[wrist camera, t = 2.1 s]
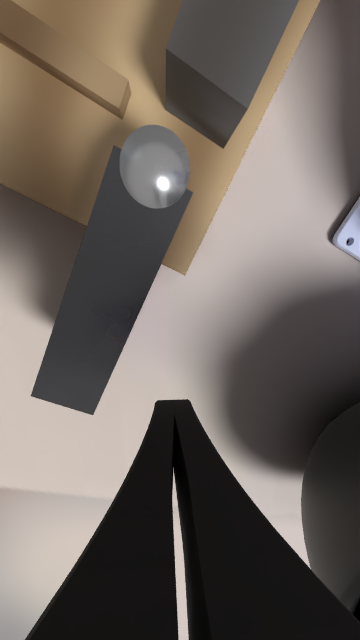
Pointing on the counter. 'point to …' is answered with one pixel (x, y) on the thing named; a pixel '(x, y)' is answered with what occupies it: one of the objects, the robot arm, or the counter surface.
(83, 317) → the hinged leg
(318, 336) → the counter surface
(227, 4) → the wooden board with bars
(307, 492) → the coal bowl
